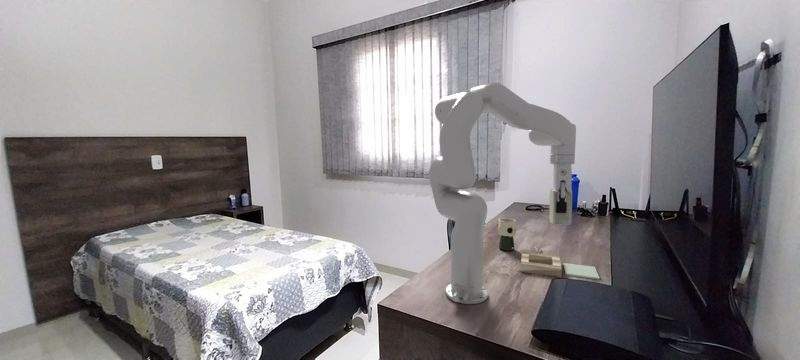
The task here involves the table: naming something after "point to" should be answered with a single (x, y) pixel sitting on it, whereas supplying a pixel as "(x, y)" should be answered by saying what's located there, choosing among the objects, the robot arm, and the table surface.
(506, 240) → the character mug
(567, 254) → the table surface
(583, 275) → the sage mat
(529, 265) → the holder block
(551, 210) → the skincare box
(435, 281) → the table surface
